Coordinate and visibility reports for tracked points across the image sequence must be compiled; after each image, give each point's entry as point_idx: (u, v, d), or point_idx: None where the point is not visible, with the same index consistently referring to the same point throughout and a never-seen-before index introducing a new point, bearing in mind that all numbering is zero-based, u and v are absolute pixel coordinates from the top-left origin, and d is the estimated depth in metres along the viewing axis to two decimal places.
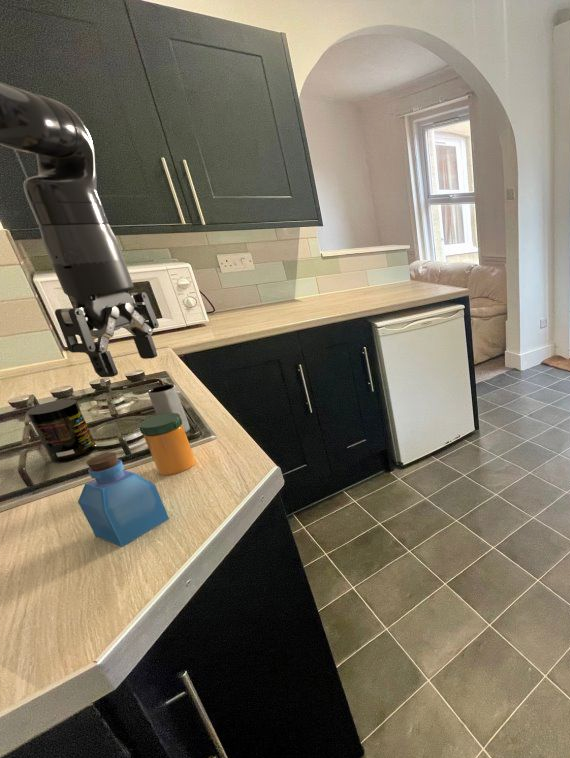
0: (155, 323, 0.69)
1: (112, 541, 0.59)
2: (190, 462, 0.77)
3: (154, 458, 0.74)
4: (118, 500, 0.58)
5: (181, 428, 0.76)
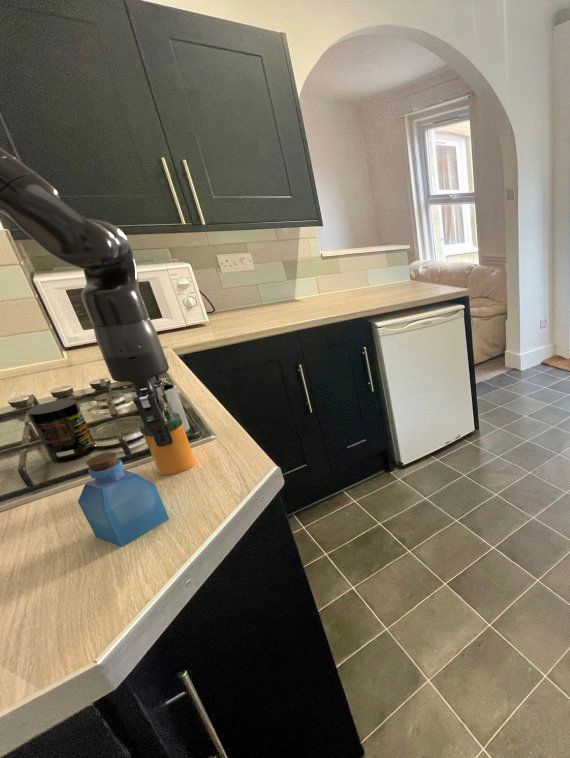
0: (166, 399, 0.78)
1: (112, 541, 0.59)
2: (190, 462, 0.77)
3: (154, 458, 0.74)
4: (118, 500, 0.58)
5: (181, 428, 0.76)
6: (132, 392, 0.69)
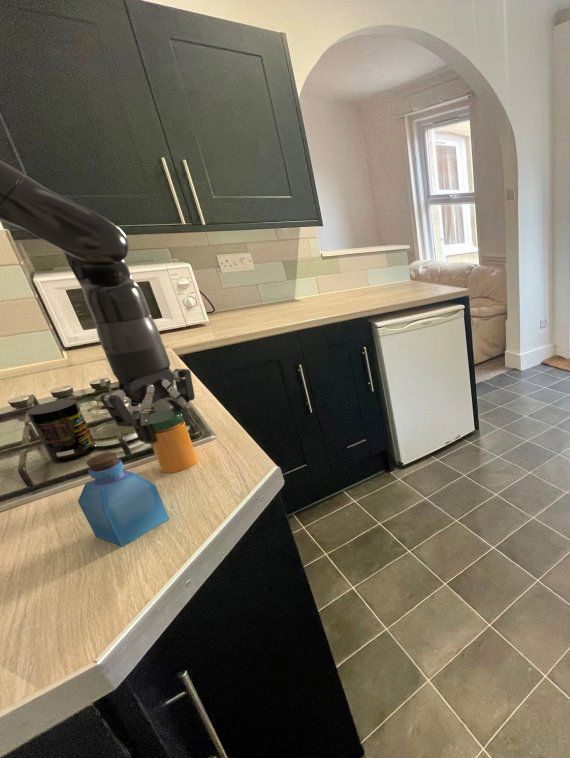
0: None
1: (112, 541, 0.59)
2: (193, 459, 0.78)
3: (157, 456, 0.75)
4: (118, 500, 0.58)
5: (184, 426, 0.76)
6: (166, 380, 0.74)
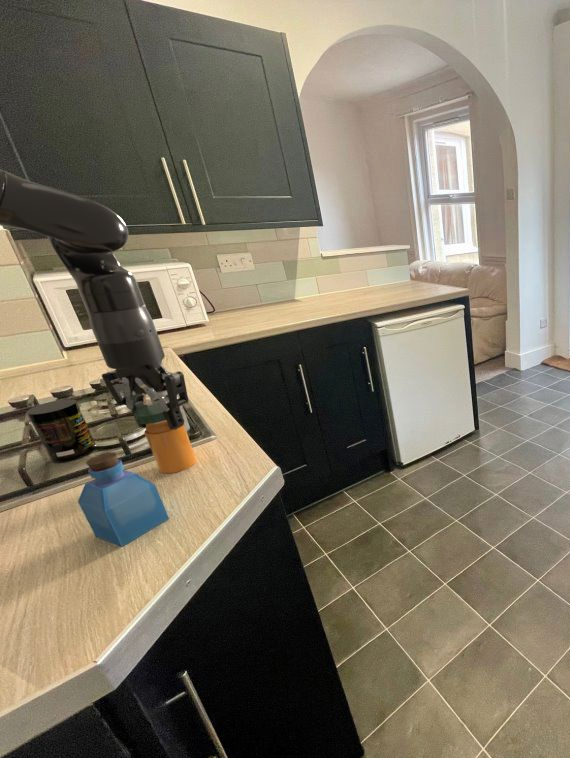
0: (171, 404, 0.71)
1: (112, 541, 0.59)
2: (193, 459, 0.78)
3: (157, 457, 0.74)
4: (118, 500, 0.58)
5: (183, 426, 0.76)
6: None
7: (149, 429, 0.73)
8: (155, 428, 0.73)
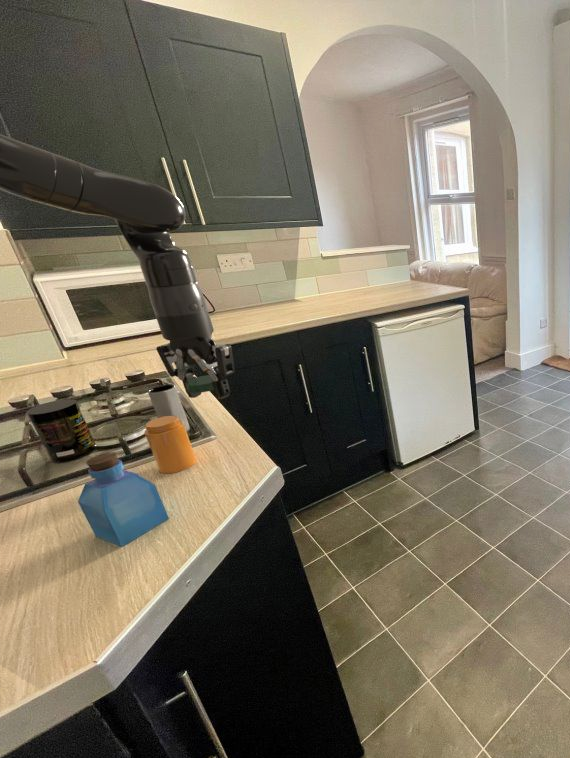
0: (220, 374, 0.76)
1: (112, 541, 0.59)
2: (193, 459, 0.78)
3: (157, 457, 0.74)
4: (118, 500, 0.58)
5: (183, 426, 0.76)
6: None
7: (149, 429, 0.73)
8: (155, 428, 0.73)
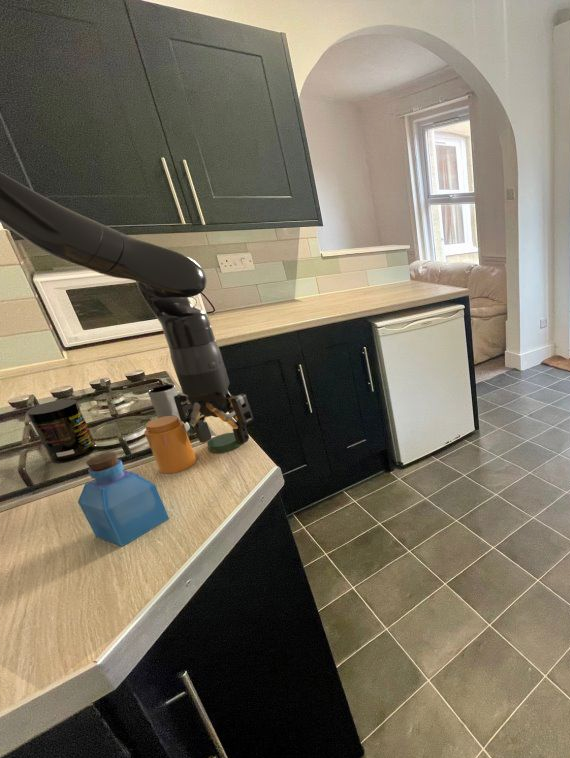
0: (240, 423, 0.80)
1: (112, 541, 0.59)
2: (193, 459, 0.78)
3: (157, 457, 0.74)
4: (118, 500, 0.58)
5: (183, 426, 0.76)
6: None
7: (149, 429, 0.73)
8: (155, 428, 0.73)
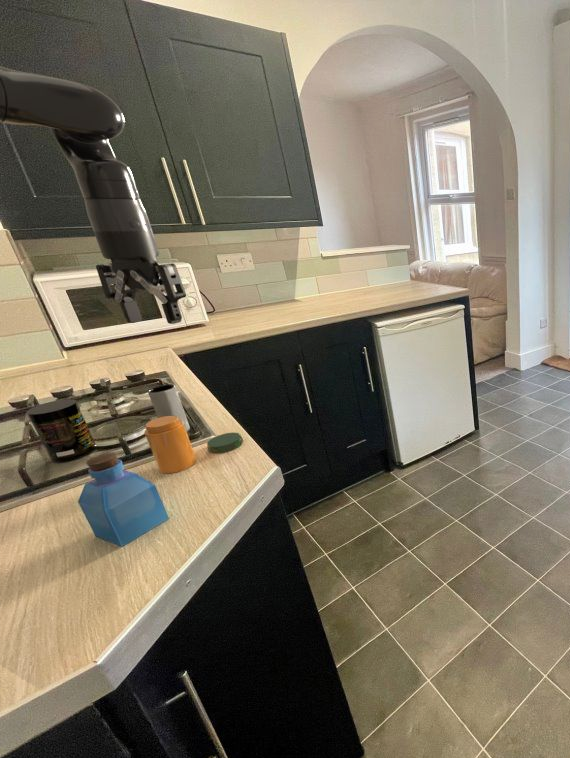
0: (169, 295, 0.73)
1: (112, 541, 0.59)
2: (193, 459, 0.78)
3: (157, 457, 0.74)
4: (118, 500, 0.58)
5: (183, 426, 0.76)
6: None
7: (149, 429, 0.73)
8: (155, 428, 0.73)
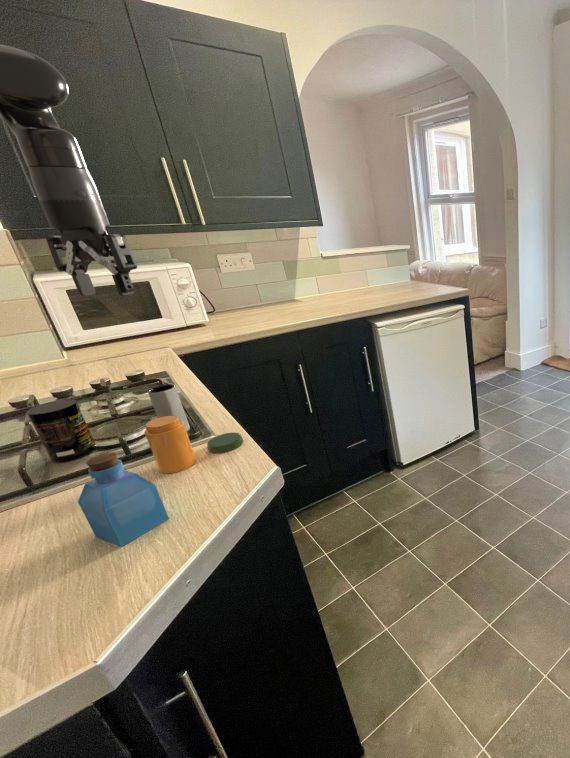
0: (118, 265, 0.72)
1: (112, 541, 0.59)
2: (193, 459, 0.78)
3: (157, 457, 0.74)
4: (118, 500, 0.58)
5: (183, 426, 0.76)
6: None
7: (149, 429, 0.73)
8: (155, 428, 0.73)
